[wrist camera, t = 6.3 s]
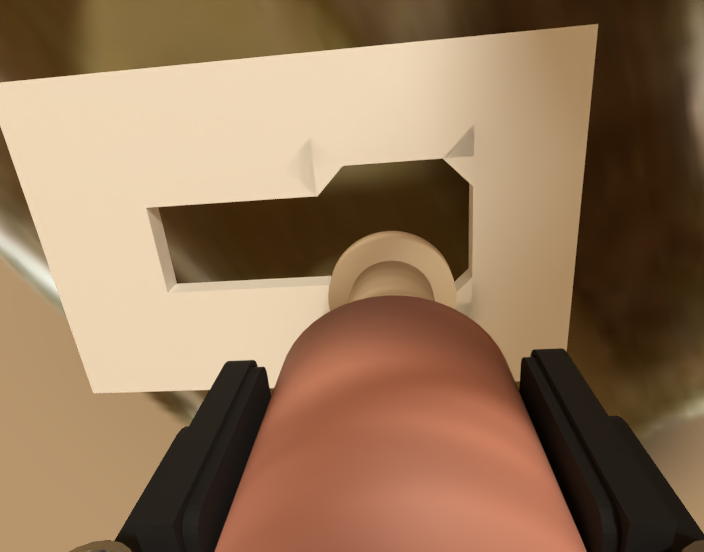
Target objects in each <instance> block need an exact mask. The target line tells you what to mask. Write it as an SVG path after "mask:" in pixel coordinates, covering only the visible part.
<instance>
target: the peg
mask: <svg viewBox="0 0 704 552" xmlns="http://www.w3.org/2000/svg"><path fill="white" fill-rule="evenodd" d="M328 303H329V308H330V312H328V313H326V314H324V315H323V316H321V317H320V318H319V319H317V320H316V321H314V322H313V323H312V324H311V325H310V326H309V327H308V328H307V329H305V330H304V331H303V332H302V333H301V335H300V336H299V337H298V338H297V340H296V341H295V342H294V343H293V345H292V347H291V349H290V350H289V352H288V354H287V356H286V358H285V361H284V363H283V366H282V368H281V371H280V374H279V376H278V379H277V382H276V385H275V387H274V390H273V393H272V396H271V398H270V401H269V404H268V407H267V409H266V412H265V415H264V418H263V420H262V423H261V426H260V428H259V431H258V434H257V437H256V439H255V442H254V445H253V448H252V450H251V453H250V456H249V459H248V461H247V464H246V467H245V470H244V472H243V475H242V478H241V480H240V483H239V486H238V489H237V491H236V494H235V497H234V500H233V502H232V505H231V508H230V511H229V513H228V516H227V519H226V522H225V524H224V527H223V530H222V532H221V535H220V538H219V541H218V543H217V546H216V549H215V552H587V551H586V549H585V546H584V544H583V541H582V539H581V537H580V534H579V532H578V530H577V527H576V525H575V522H574V520H573V518H572V515H571V513H570V511H569V508H568V506H567V504H566V501H565V499H564V496H563V494H562V492H561V489H560V487H559V485H558V482H557V480H556V477H555V475H554V473H553V470H552V468H551V466H550V463H549V461H548V458H547V456H546V454H545V451H544V449H543V447H542V444H541V442H540V440H539V437H538V435H537V432H536V430H535V428H534V425H533V423H532V421H531V418H530V416H529V413H528V411H527V409H526V406H525V404H524V402H523V399H522V397H521V394H520V392H519V390H518V387H517V385H516V383H515V380H514V378H513V376H512V373H511V371H510V368H509V366H508V364H507V361H506V359H505V357H504V355H503V354H502V352H501V350H500V348H499V347H498V345H497V344H496V343H495V341H494V340H493V339H492V338H491V336H490V335H489V334H488V333H487V332H486V331H485V330H484V329H483V328H482V327H481V326H480V325H478V324H477V323H476V322H474V321H473V320H472V319H470V318H469V317H468V316H466V315H464V314H462V313H461V312H459V311H457V310H455V306H456V287H455V283H454V279H453V276H452V273H451V270H450V268H449V265H448V263H447V261H446V260H445V258H444V257H443V255H442V254H441V253H440V251H439V250H438V249H437V248H436V247H435V246H433V245H432V244H431V243H429V242H428V241H426V240H425V239H423V238H421V237H419V236H416V235H414V234H411V233H407V232H401V231H383V232H378V233H374V234H370V235H368V236H365V237H363V238H361V239H360V240H358V241H356V242H355V243H354V244H352V245H351V246H350V247H349V248H348V249H347V250H346V251H345V252H344V253H343V254H342V256H341V257H340V258H339V260H338V262H337V263H336V266H335V268H334V271H333V274H332V278H331V282H330V285H329V292H328Z"/></svg>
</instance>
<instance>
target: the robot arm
mask: <svg viewBox="0 0 704 552" xmlns="http://www.w3.org/2000/svg"><path fill="white" fill-rule="evenodd" d="M519 392H520V394H521V397H522V399H523V402H524V404H525V406H526V409H527V411H528V413H529V416H530V418H531V421H532V423H533V425H534V428H535V430H536V432H537V435H538V437H539V440H540V442H541V444H542V447H543V449H544V451H545V454H546V456H547V458H548V461H549V463H550V466H551V468H552V470H553V473H554V475H555V477H556V480H557V482H558V485H559V487H560V489H561V492H562V494H563V496H564V499H565V501H566V504H567V506H568V508H569V511H570V513H571V515H572V518H573V520H574V522H575V525H576V527H577V530H578V532H579V534H580V537H581V539H582V541H583V544H584V546H585V549H586V551H587V552H704V534H703V532H702V531H701V530H700V528H699V527H698V525H697V524H696V522H695V521H694V519H693V518H692V516H691V515H690V513H689V512H688V511H687V509H686V508H685V506H684V505H683V503H682V502H681V500H680V499H679V498H678V496H677V495H676V494H675V492H674V490H673V489H672V488H671V486H670V485H669V483H668V482H667V480H666V479H665V478H664V476H663V475H662V473H661V472H660V470H659V469H658V467H657V466H656V464H655V463H654V462H653V460H652V459H651V457H650V456H649V454H648V453H647V452H646V450H645V449H644V447H643V446H642V444H641V443H640V441H639V440H638V439H637V437H636V436H635V434H634V433H633V431H632V430H631V428H630V427H629V426H628V424H627V423H626V422H625V421H624V420H623V419H622V418H621V417H619V416H608V415H607V413H606V412H605V410H604V408H603V407H602V405H601V404H600V402H599V401H598V399H597V398H596V396H595V395H594V393H593V392H592V390H591V389H590V387H589V386H588V384H587V383H586V381H585V379H584V378H583V376H582V375H581V373H580V372H579V370H578V369H577V367H576V366H575V364H574V363H573V361H572V360H571V358H570V357H569V355H568V353H567V352H566V351H565V350H564V349H562V348H558V349H533V350H532V352H531V356H530V357H523V358H522V360H521V371H520V390H519ZM270 398H271V393H270V387H269V382H268V376H267V371H266V369H265V367H258V365H257V363H256V361H254V360H241V361H227V362H226V363H225V364H224V366H223V368H222V369H221V371H220V373H219V375H218V376H217V378H216V380H215V382H214V383H213V385H212V387H211V389H210V390H209V392H208V394H207V396H206V397H205V399H204V401H203V403H202V404H201V406H200V408H199V410H198V411H197V413H196V415H195V417H194V418H193V420H192V422H191V424H190V426H189V427H184V428H182V429H181V430H180V432H179V433H178V434H177V436H176V438H175V439H174V441H173V442H172V444H171V446H170V448H169V449H168V451H167V453H166V454H165V456H164V458H163V460H162V461H161V463H160V465H159V466H158V468H157V470H156V471H155V473H154V475H153V476H152V478H151V480H150V482H149V483H148V485H147V487H146V488H145V490H144V492H143V493H142V495H141V497H140V498H139V500H138V502H137V503H136V505H135V507H134V509H133V510H132V512H131V514H130V515H129V517H128V519H127V520H126V522H125V524H124V526H123V527H122V529H121V531H120V533H119V534H118V536H117V537H116V539H115V541H111V540H105V541H96V542H91V543H89V544H86V545H83V546H80V547H77V548H75V549H73V550H71V551H70V552H215V549H216V546H217V543H218V541H219V538H220V535H221V532H222V530H223V527H224V524H225V522H226V519H227V516H228V513H229V511H230V508H231V505H232V502H233V500H234V497H235V494H236V491H237V489H238V486H239V483H240V480H241V478H242V475H243V472H244V470H245V467H246V464H247V461H248V459H249V456H250V453H251V450H252V448H253V445H254V442H255V439H256V437H257V434H258V431H259V428H260V426H261V423H262V420H263V418H264V415H265V412H266V409H267V407H268V404H269V401H270Z"/></svg>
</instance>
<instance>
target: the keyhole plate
mask: <svg viewBox="0 0 704 552" xmlns="http://www.w3.org/2000/svg"><path fill="white" fill-rule="evenodd" d="M597 33H598V24H593V25H582V26H572V27H562V28H552V29H542V30H531V31H521V32H511V33H501V34H491V35H480V36H470V37H460V38H450V39H439V40H429V41H419V42H409V43H399V44H388V45H378V46H368V47H358V48H348V49H337V50H327V51H317V52H307V53H297V54H286V55H276V56H266V57H256V58H246V59H235V60H225V61H215V62H205V63H195V64H184V65H174V66H164V67H154V68H144V69H133V70H123V71H113V72H103V73H92V74H82V75H72V76H62V77H52V78H41V79H31V80H21V81H11V82H1V83H0V126H1V129H2V132H3V135H4V138H5V141H6V144H7V147H8V149H9V152H10V155H11V158H12V161H13V164H14V167H15V170H16V172H17V175H18V178H19V181H20V184H21V187H22V190H23V193H24V195H25V198H26V201H27V204H28V207H29V210H30V213H31V216H32V218H33V221H34V224H35V227H36V230H37V233H38V236H39V239H40V241H41V244H42V247H43V250H44V253H45V256H46V259H47V262H48V264H49V267H50V270H51V273H52V276H53V279H54V282H55V285H56V287H57V290H58V293H59V296H60V299H61V302H62V305H63V307H64V310H65V313H66V316H67V319H68V322H69V325H70V328H71V330H72V333H73V336H74V339H75V342H76V345H77V348H78V351H79V353H80V356H81V359H82V362H83V365H84V368H85V371H86V374H87V376H88V379H89V382H90V385H91V388H92V391H93V393H116V392H153V391H189V390H210V389H211V387H212V385H213V383H214V382H215V380H216V378H217V376H218V375H219V373H220V371H221V369H222V368H223V366H224V364H225V363H226V362H227V361H241V360H254V361H256V363H257V365H258V367H265V369H266V371H267V376H268V382H269V387H270V388H274V387H275V385H276V382H277V379H278V376H279V374H280V371H281V368H282V366H283V363H284V361H285V358H286V356H287V354H288V352H289V350H290V349H291V347H292V345H293V343H294V342H295V341H296V340H297V338H298V337H299V336H300V335H301V333H302V332H303V331H304V330H305V329H307V328H308V327H309V326H310V325H311V324H312V323H313V322H314V321H316V320H317V319H319V318H320V317H321V316H323V315H324V314H326V313H328V312H330V308H329V303H328V292H329V285H330V282H331V278H332V277H331V276H330V275H329V276H318V277H299V278H279V279H259V280H240V281H220V282H201V283H181V284H177V282H176V278H175V274H174V270H173V265H172V261H171V257H170V253H169V249H168V245H167V241H166V237H165V233H164V228H163V224H162V220H161V216H160V212H159V208H158V207H165V206H180V205H195V204H210V203H224V202H239V201H254V200H269V199H283V198H298V197H313V196H316V197H317V196H318V195H319V194H320V193H321V191H322V190H323V189H324V188H325V187H326V185H327V184H328V183H329V182H330V181H331V179H332V178H333V177H334V176H335V174H336V173H337V172H338V171H339V170H340V168H341V167H342V166H346V165H360V164H373V163H387V162H401V161H414V160H428V159H441V158H443V159H444V160H445V161H446V162H447V163H448V164H449V165H450V166H451V167H452V168H454V169H455V170H456V171H457V172H458V173H459V174H460V175H461V176H462V177H463V178H464V179H466V180H467V181H468V182H469V268H468V269H467V270H466V271H465V272H464V273H463V274H462V275H461V276H460V277H459V278H458V279H457V280H456V281H455V282H454V283H455V287H456V306H455V310H457V311H459V312H461V313H462V314H464V315H466V316H468V317H469V318H470V319H472V320H473V321H474V322H476V323H477V324H478V325H480V326H481V327H482V328H483V329H484V330H485V331H486V332H487V333H488V334H489V335H490V336H491V338H492V339H493V340H494V341H495V343H496V344H497V345H498V347H499V348H500V350H501V352H502V354H503V355H504V357H505V359H506V361H507V364H508V366H509V368H510V371H511V373H512V376H513V378H514V380H515V381H520V371H521V360H522V358H523V357H530V356H531V352H532V350H533V349H558V348H562V349H564V350H565V351H566V352H567V342H568V332H569V322H570V311H571V301H572V291H573V280H574V270H575V260H576V249H577V239H578V229H579V218H580V208H581V198H582V187H583V177H584V167H585V156H586V146H587V136H588V125H589V115H590V105H591V94H592V84H593V74H594V63H595V53H596V43H597Z"/></svg>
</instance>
